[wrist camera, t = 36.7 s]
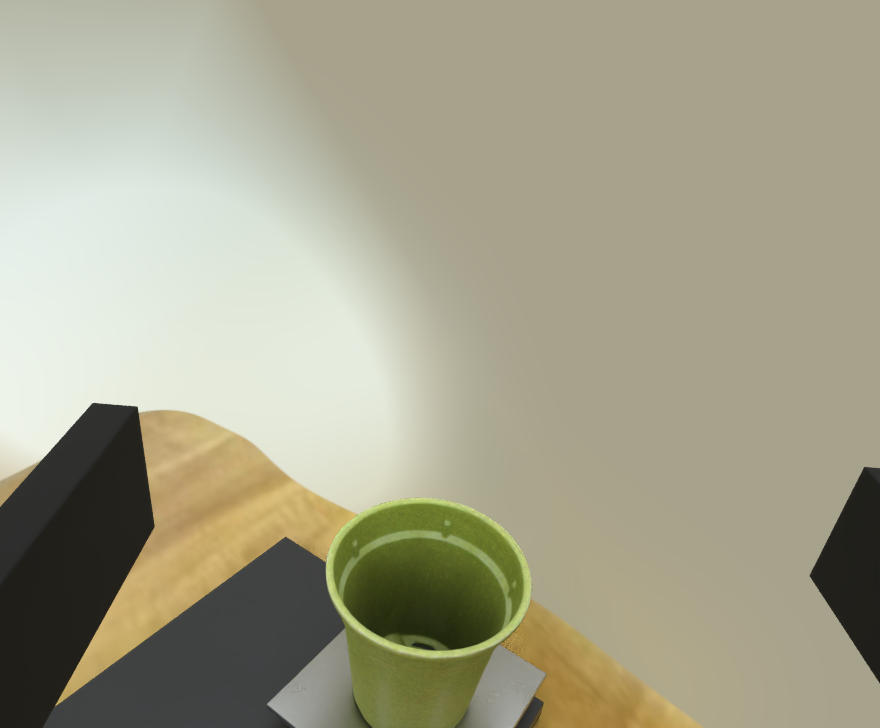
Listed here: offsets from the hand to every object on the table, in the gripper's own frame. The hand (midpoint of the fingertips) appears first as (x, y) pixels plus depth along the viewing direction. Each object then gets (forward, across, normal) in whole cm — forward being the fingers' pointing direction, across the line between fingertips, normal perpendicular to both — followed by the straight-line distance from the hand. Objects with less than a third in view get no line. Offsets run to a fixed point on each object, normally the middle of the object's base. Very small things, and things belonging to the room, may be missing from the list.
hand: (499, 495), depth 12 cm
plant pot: (+12, 0, +23) cm, 26 cm away
